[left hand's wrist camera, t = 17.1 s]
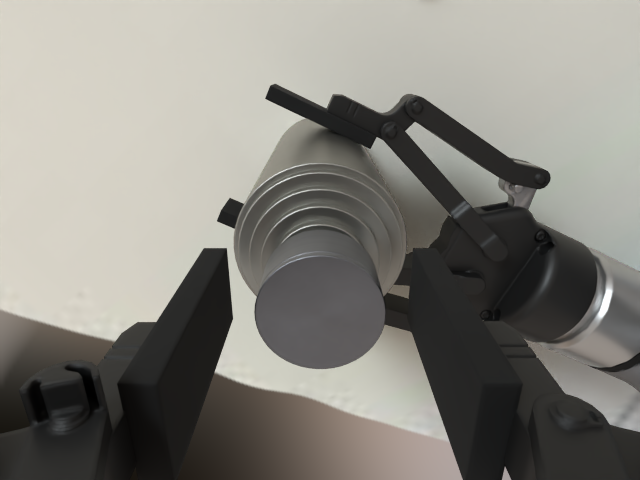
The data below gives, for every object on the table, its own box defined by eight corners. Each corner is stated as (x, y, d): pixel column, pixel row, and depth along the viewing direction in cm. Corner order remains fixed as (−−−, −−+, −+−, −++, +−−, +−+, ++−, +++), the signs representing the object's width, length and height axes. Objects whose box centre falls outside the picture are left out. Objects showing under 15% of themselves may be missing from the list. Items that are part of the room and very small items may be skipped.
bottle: (336, 223, 35) (356, 426, 15) (258, 180, 33) (169, 341, 14) (383, 147, 32) (482, 268, 13) (302, 97, 31) (272, 149, 11)
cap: (367, 218, 14) (374, 243, 12) (385, 320, 15) (394, 357, 13) (250, 241, 14) (238, 270, 12) (278, 339, 16) (272, 378, 14)
